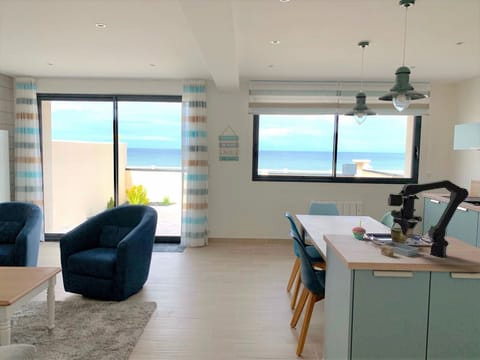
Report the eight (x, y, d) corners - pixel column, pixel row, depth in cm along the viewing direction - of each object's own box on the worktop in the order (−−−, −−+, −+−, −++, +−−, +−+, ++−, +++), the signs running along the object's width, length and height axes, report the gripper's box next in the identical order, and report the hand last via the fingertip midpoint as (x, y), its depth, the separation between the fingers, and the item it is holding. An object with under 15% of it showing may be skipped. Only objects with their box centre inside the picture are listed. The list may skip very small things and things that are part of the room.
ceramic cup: (411, 248, 196) (412, 231, 195) (393, 247, 196) (395, 230, 195) (400, 242, 209) (401, 226, 208) (384, 241, 209) (385, 226, 208)
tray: (418, 253, 184) (419, 248, 184) (407, 256, 178) (407, 251, 178) (392, 246, 198) (392, 241, 197) (380, 249, 192) (381, 243, 192)
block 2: (412, 236, 184) (413, 228, 183) (408, 237, 181) (408, 229, 181) (404, 235, 187) (405, 227, 187) (400, 236, 185) (400, 228, 185)
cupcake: (354, 235, 222) (355, 218, 222) (367, 238, 217) (368, 220, 216) (349, 238, 216) (350, 219, 215) (362, 240, 210) (364, 221, 210)
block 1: (393, 255, 180) (393, 247, 179) (388, 256, 177) (388, 248, 177) (385, 253, 183) (386, 245, 183) (380, 254, 181) (381, 246, 181)
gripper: (404, 203, 195) (402, 230, 196) (384, 205, 185) (383, 233, 186) (423, 206, 186) (421, 234, 187) (403, 208, 176) (402, 237, 177)
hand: (406, 234), depth 184 cm, fingers closed on block 2, 4 cm apart
